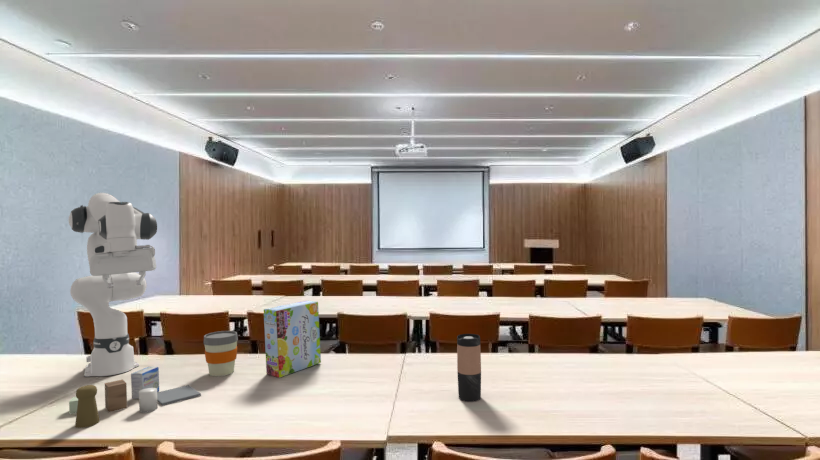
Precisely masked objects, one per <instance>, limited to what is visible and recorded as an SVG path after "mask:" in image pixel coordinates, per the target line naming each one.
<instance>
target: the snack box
mask: <svg viewBox="0 0 820 460" xmlns="http://www.w3.org/2000/svg"><path fill="white" fill-rule="evenodd" d="M319 316H320V315H319V302H318V301H311V300H302V301H297V302H292V303H287V304H281V305H278V306H273V307H269V308H268V307H267V308H264V309H263V324H264V347H265V369H266V371H265V372H266V375H268V376H271V377H276V378H279V379H280V378H283V377H284V376H288V375H291V374H293V373H296V372H299V371H302V370H304V369H307V368H311V367H312V366H316V365H318V364H321V363H322V358H321V356H322V355H321V337H320V335H321V334H320V317H319Z"/></svg>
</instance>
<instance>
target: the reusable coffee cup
mask: <svg viewBox="0 0 820 460" xmlns="http://www.w3.org/2000/svg"><path fill="white" fill-rule="evenodd" d="M238 341H239V337H238V332H237V331H235V330H234V331H233V330H221V331H219V330H218V331H214V332H209V333H206V334H205V335H203V345H204V348H205V349H204V357H205V362H206V363H207V367H208V375H209V376H210V377H224V376H229V375H231V374H233V373H235V365H236V364H235V363H236V360H237V355H238V346H237V345H238Z"/></svg>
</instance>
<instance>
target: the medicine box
mask: <svg viewBox="0 0 820 460" xmlns="http://www.w3.org/2000/svg"><path fill="white" fill-rule="evenodd" d="M159 369H160V367H158V366H147V367H143V368H142V369H139V370H137V371H135V372H131V374H130V385H131V399H135V400H136V399H137V400H139V391H140V390H143V389H146V388H157V392H160V374H159V373H160V371H159Z"/></svg>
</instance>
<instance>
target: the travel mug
mask: <svg viewBox="0 0 820 460" xmlns="http://www.w3.org/2000/svg"><path fill="white" fill-rule="evenodd" d="M456 340H457V341H456V345H457V347H456V352H457V353H456V358H457V360H456V362H457V364H456V365H457V372H456V373H457V385H458V386H457V389H458V399H459V400H461V401H463V402H471V403H473V402H477V401H480V400H481V397H482V356H481V355H482V353H481V350H482V349H481V336H480V335H479V334H475V333H462V334H458V335H457V337H456Z"/></svg>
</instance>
